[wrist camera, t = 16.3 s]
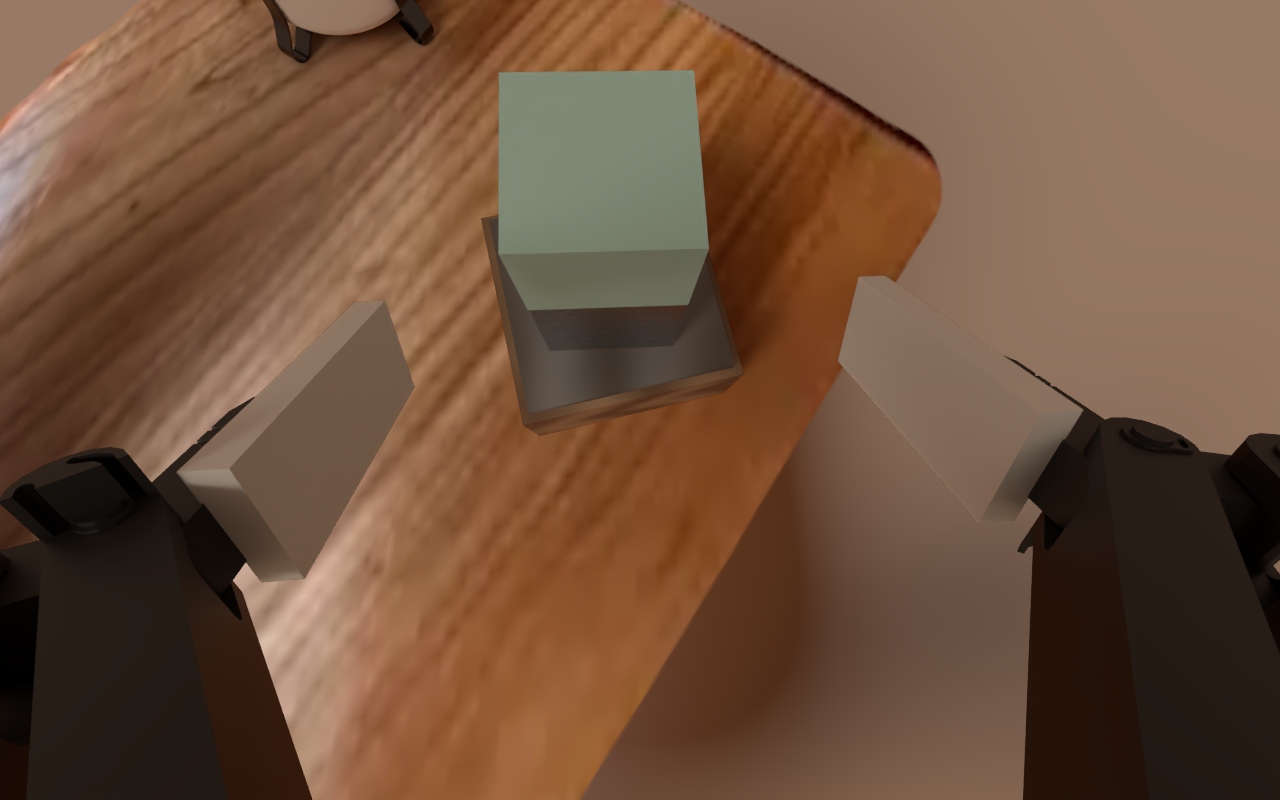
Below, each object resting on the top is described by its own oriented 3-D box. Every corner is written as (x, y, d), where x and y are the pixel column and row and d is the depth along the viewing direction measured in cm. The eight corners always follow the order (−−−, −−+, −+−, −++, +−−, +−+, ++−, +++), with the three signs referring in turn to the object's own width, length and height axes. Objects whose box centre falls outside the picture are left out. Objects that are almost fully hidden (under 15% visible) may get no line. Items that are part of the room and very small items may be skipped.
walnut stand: (539, 435, 32) (521, 423, 26) (503, 261, 34) (478, 213, 28) (723, 392, 33) (745, 371, 27) (676, 225, 35) (688, 173, 29)
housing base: (549, 351, 27) (527, 308, 21) (547, 237, 28) (525, 164, 22) (672, 346, 27) (688, 302, 21) (664, 234, 29) (677, 161, 22)
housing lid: (527, 310, 21) (498, 254, 16) (526, 135, 22) (498, 34, 17) (688, 304, 21) (709, 248, 16) (675, 132, 22) (690, 33, 18)
